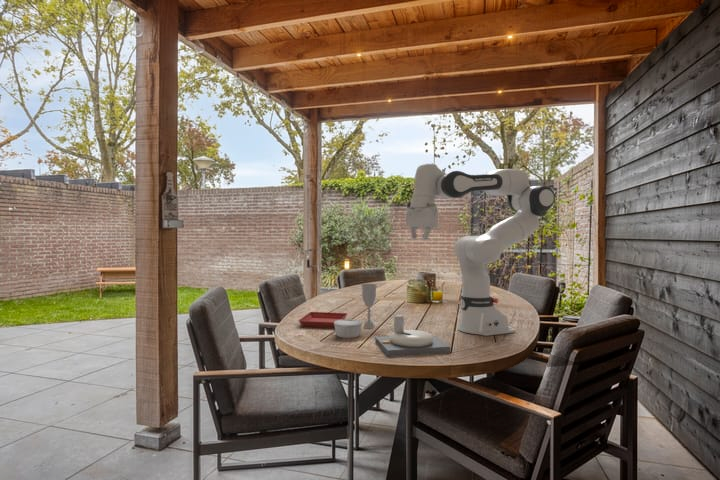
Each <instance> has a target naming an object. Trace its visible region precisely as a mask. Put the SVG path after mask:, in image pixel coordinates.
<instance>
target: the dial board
mask: <svg viewBox="0 0 720 480" xmlns="http://www.w3.org/2000/svg"><path fill="white" fill-rule="evenodd" d="M432 335H433V343H432V344H430V345H427V346H421V347H407V346H400V345H396V344H393V343H392V342H391V341H390V335H388V336H375V339H374V341H375V342H374V343H375V344H376V345H377V346H378V347H379V349H380V350H381V351H382V352H383V353H384V354H385V356H386V357H397V356H398V357H401V356H414V355H417V356H418V355H430V354H432V355H433V354H447V353H451V346H450V345H448V344H447V343H445V342H444V341H442V340H441V339H440V338H438V336H436V335H434V334H432Z"/></svg>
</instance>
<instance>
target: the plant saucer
mask: <svg viewBox="0 0 720 480" xmlns="http://www.w3.org/2000/svg"><path fill="white" fill-rule="evenodd" d="M346 317H348V313H346V312H345V313H344V312H326V311H325V312H324V311H322V312H321V311H309V312H308V313H307V314H305V315H304V316H302V317H301V318H299V319H298V323H300V324H301V326H303V327H313V328H333V329H335V325H334V322H335V321H337V320H342V319H345V318H346Z"/></svg>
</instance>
